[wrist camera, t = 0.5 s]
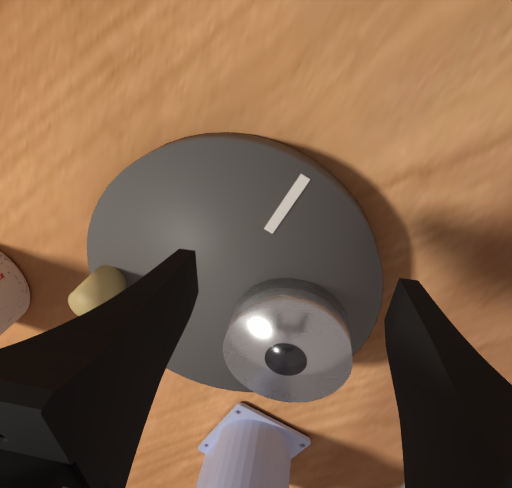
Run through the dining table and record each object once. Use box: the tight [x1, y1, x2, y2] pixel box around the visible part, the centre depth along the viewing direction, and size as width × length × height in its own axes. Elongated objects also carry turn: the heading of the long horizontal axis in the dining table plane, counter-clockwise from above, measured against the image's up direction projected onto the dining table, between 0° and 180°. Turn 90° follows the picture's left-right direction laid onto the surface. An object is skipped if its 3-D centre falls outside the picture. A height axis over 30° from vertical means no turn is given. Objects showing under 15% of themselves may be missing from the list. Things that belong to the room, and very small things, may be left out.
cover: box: [223, 278, 353, 402], centre depth 23 cm, size 8×8×3 cm
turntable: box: [68, 132, 383, 392], centre depth 23 cm, size 20×20×5 cm
